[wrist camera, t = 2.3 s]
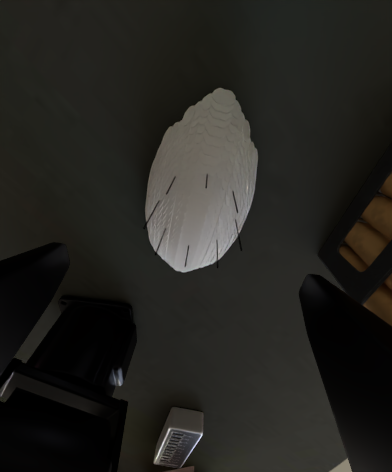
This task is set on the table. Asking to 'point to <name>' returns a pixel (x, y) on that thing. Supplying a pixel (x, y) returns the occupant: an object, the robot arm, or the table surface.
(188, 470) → the greeting card
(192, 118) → the pincushion
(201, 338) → the table surface
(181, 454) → the multiport hub
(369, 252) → the ammunition clip
